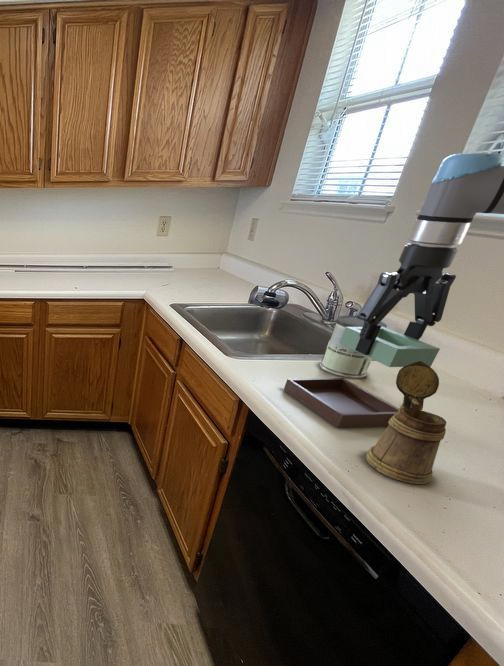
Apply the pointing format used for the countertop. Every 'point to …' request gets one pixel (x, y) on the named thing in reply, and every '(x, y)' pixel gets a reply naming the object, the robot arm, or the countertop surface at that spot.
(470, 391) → the countertop surface
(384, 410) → the tray
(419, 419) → the wooden mug
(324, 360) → the coffee can
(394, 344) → the frame
